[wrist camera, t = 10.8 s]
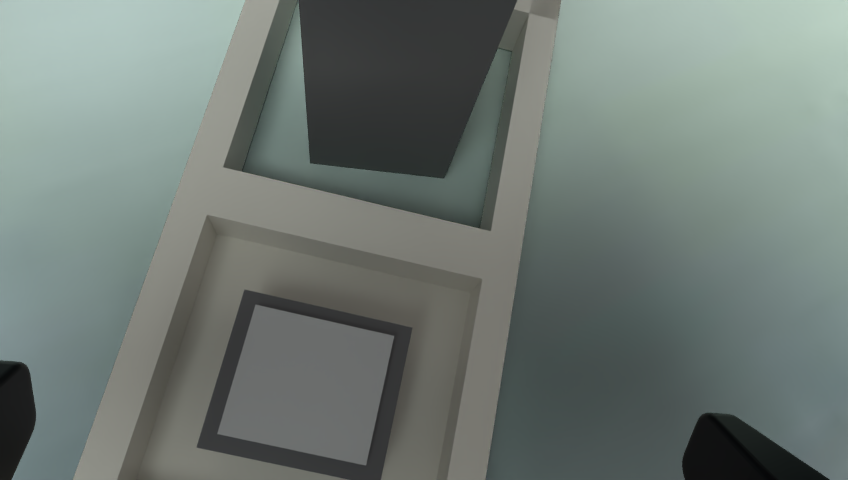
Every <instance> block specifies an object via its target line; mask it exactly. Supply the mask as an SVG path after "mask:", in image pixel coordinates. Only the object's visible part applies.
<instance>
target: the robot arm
mask: <svg viewBox="0 0 848 480" xmlns="http://www.w3.org/2000/svg"><path fill="white" fill-rule="evenodd" d="M35 421H36V409H35V403H34V396H33V390H32V383H31V377H30V372H29V369H28V367H27V365H25V364H24V363H22V362H15V361H2V360H0V480H11V479H12V477H13V475H14V473H15V471H16V468H17V466H18V464H19V462H20V459H21V457H22V455H23V453H24V451H25V448H26V446H27V444H28V442H29V439H30V437H31V435H32V432H33V430H34V426H35ZM682 468H683V474H684V478H685V480H829V479H828V478H826V477H825V476H824V475H822V474H821V473H819V472H818V471H816V470H815V469H813V468H812V467H810V466H809V465H807V464H806V463H804V462H803V461H801V460H800V459H798V458H797V457H795V456H794V455H792V454H791V453H789V452H788V451H786V450H785V449H783V448H782V447H780V446H779V445H777V444H776V443H775V442H773V441H772V440H770V439H769V438H767V437H766V436H764V435H763V434H761V433H760V432H758V431H757V430H755V429H754V428H752V427H751V426H749V425H748V424H746V423H745V422H743V421H742V420H740V419H739V418H737V417H736V416H734V415H731V414H722V413H705V414H703V415H701V416H700V417H699V419H698V421H697V423H696V426H695V428H694V430H693V433H692V435H691V438H690V440H689V443H688V445H687V448H686V450H685V452H684V456H683V461H682Z"/></svg>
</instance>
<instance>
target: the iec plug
mask: <svg viewBox="0 0 848 480" xmlns="http://www.w3.org/2000/svg"><path fill="white" fill-rule="evenodd" d="M516 2H517V0H299V10H300V25H301V39H302V53H303V68H304V82H305V96H306V110H307V125H308V139H309V153H310V163H313V164H322V165H331V166H340V167H348V168H357V169H366V170H375V171H384V172H393V173H402V174H411V175H420V176H429V177H437V178H444V177H445V175H446V172H447V170H448V168H449V165H450V163H451V160H452V158H453V155H454V153H455V151H456V148H457V146H458V143H459V141H460V138H461V136H462V134H463V131H464V129H465V126H466V124H467V121H468V119H469V117H470V114H471V112H472V109H473V107H474V104H475V102H476V100H477V97H478V95H479V92H480V90H481V87H482V85H483V83H484V80H485V78H486V75H487V73H488V70H489V68H490V66H491V63H492V61H493V58H494V56H495V53H496V51H497V49H498V46H499V44H500V41H501V39H502V36H503V34H504V32H505V29H506V27H507V24H508V22H509V19H510V17H511V15H512V12H513V10H514V7H515V5H516Z"/></svg>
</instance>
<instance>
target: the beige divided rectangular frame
mask: <svg viewBox="0 0 848 480" xmlns="http://www.w3.org/2000/svg"><path fill="white" fill-rule="evenodd" d="M296 3H297V0H245V3H244V6H243V9H242V11H241V14H240V17H239V20H238V22H237V25H236V28H235V31H234V34H233V36H232V39H231V42H230V45H229V47H228V50H227V53H226V56H225V59H224V61H223V64H222V67H221V70H220V72H219V75H218V78H217V81H216V84H215V86H214V89H213V92H212V95H211V97H210V100H209V103H208V106H207V109H206V111H205V114H204V117H203V120H202V122H201V125H200V128H199V131H198V134H197V136H196V139H195V142H194V145H193V147H192V150H191V153H190V156H189V159H188V161H187V164H186V167H185V170H184V172H183V175H182V178H181V181H180V184H179V186H178V189H177V192H176V195H175V197H174V200H173V203H172V206H171V209H170V211H169V214H168V217H167V220H166V222H165V225H164V228H163V231H162V234H161V236H160V239H159V242H158V245H157V247H156V250H155V253H154V256H153V259H152V261H151V264H150V267H149V270H148V272H147V275H146V278H145V281H144V283H143V286H142V289H141V292H140V295H139V297H138V300H137V303H136V306H135V308H134V311H133V314H132V317H131V320H130V322H129V325H128V328H127V331H126V333H125V336H124V339H123V342H122V345H121V347H120V350H119V353H118V356H117V358H116V361H115V364H114V367H113V370H112V372H111V375H110V378H109V381H108V383H107V386H106V389H105V392H104V395H103V397H102V400H101V403H100V406H99V408H98V411H97V414H96V417H95V420H94V422H93V425H92V428H91V431H90V433H89V436H88V439H87V442H86V445H85V447H84V450H83V453H82V456H81V458H80V461H79V464H78V467H77V470H76V472H75V475H74V478H73V480H485V479H486V473H487V466H488V460H489V454H490V447H491V441H492V435H493V428H494V422H495V416H496V409H497V403H498V397H499V390H500V384H501V378H502V371H503V365H504V359H505V352H506V346H507V340H508V333H509V327H510V321H511V314H512V308H513V302H514V295H515V289H516V283H517V276H518V270H519V264H520V257H521V251H522V245H523V238H524V232H525V226H526V219H527V213H528V206H529V200H530V194H531V187H532V181H533V175H534V168H535V162H536V156H537V149H538V143H539V137H540V130H541V124H542V118H543V111H544V105H545V99H546V92H547V86H548V80H549V73H550V67H551V61H552V54H553V48H554V42H555V35H556V29H557V23H558V16H559V10H560V4H561V0H517V2H516V5H515V7H514V10H513V12H512V15H511V17H510V19H509V22H508V24H507V27H506V29H505V32H504V34H503V36H502V39H501V41H500V44H499V46H498V48H501V49H505V50H509V51H512V55H511V61H510V66H509V71H508V77H507V82H506V88H505V93H504V99H503V104H502V110H501V115H500V121H499V126H498V132H497V137H496V142H495V148H494V153H493V159H492V164H491V170H490V175H489V181H488V186H487V192H486V197H485V203H484V208H483V214H482V219H481V224H480V228H475V227H471V226H467V225H463V224H459V223H454V222H450V221H446V220H442V219H438V218H434V217H429V216H425V215H421V214H417V213H413V212H408V211H404V210H400V209H396V208H392V207H387V206H383V205H379V204H375V203H371V202H367V201H362V200H358V199H354V198H350V197H346V196H341V195H337V194H333V193H329V192H325V191H321V190H316V189H312V188H308V187H304V186H300V185H295V184H291V183H287V182H283V181H279V180H275V179H270V178H266V177H262V176H258V175H254V174H249V173H245V172H242V169H243V166H244V163H245V160H246V156H247V153H248V150H249V147H250V144H251V141H252V138H253V135H254V132H255V129H256V126H257V123H258V120H259V117H260V114H261V111H262V108H263V104H264V101H265V98H266V95H267V92H268V89H269V86H270V83H271V80H272V77H273V74H274V71H275V68H276V65H277V62H278V59H279V55H280V52H281V49H282V46H283V43H284V40H285V37H286V34H287V31H288V28H289V25H290V22H291V19H292V16H293V13H294V10H295V7H296Z"/></svg>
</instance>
